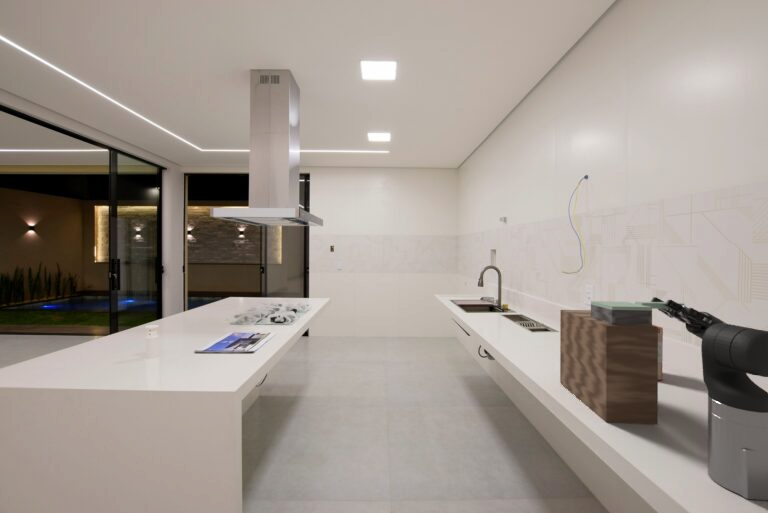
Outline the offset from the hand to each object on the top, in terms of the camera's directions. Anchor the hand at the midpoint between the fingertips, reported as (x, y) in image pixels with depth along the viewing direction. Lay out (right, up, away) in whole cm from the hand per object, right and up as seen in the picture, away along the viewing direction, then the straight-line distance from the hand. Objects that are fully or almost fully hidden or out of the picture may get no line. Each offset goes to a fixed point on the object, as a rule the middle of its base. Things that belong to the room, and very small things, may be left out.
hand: (660, 301), depth 97 cm
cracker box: (+22, -35, +33) cm, 53 cm away
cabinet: (-12, -34, +8) cm, 37 cm away
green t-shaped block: (-6, -3, 0) cm, 7 cm away
